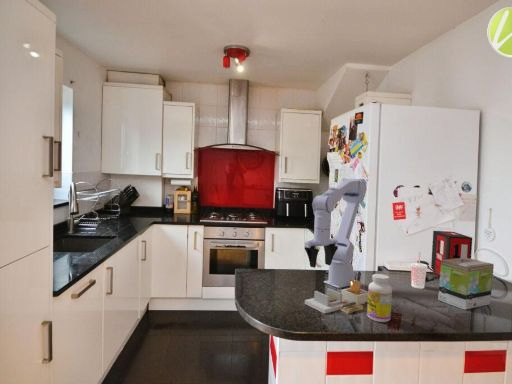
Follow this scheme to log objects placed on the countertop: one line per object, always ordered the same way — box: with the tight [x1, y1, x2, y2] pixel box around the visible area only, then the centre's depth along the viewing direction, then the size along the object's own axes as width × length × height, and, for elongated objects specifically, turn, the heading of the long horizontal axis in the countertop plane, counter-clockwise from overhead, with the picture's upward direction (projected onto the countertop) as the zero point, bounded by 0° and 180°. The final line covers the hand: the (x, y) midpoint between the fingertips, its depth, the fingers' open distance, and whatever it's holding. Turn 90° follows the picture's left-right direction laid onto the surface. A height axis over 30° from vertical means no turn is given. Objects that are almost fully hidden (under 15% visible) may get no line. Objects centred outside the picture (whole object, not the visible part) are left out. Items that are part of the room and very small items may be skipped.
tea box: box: [437, 258, 495, 311], centre depth 112 cm, size 15×10×15 cm, turn 117°
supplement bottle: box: [366, 273, 393, 323], centre depth 96 cm, size 7×7×13 cm
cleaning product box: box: [430, 230, 473, 279], centre depth 142 cm, size 16×9×20 cm, turn 172°
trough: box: [339, 302, 364, 315], centre depth 102 cm, size 7×3×2 cm, turn 123°
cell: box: [349, 279, 362, 295], centre depth 110 cm, size 3×3×6 cm
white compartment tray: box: [304, 288, 350, 314], centre depth 105 cm, size 12×9×4 cm
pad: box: [326, 294, 337, 303], centre depth 105 cm, size 4×4×1 cm
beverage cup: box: [410, 251, 428, 289], centre depth 128 cm, size 6×6×14 cm
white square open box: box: [341, 287, 368, 306], centre depth 110 cm, size 7×7×3 cm
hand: (320, 265), depth 116 cm, fingers open, 7 cm apart
